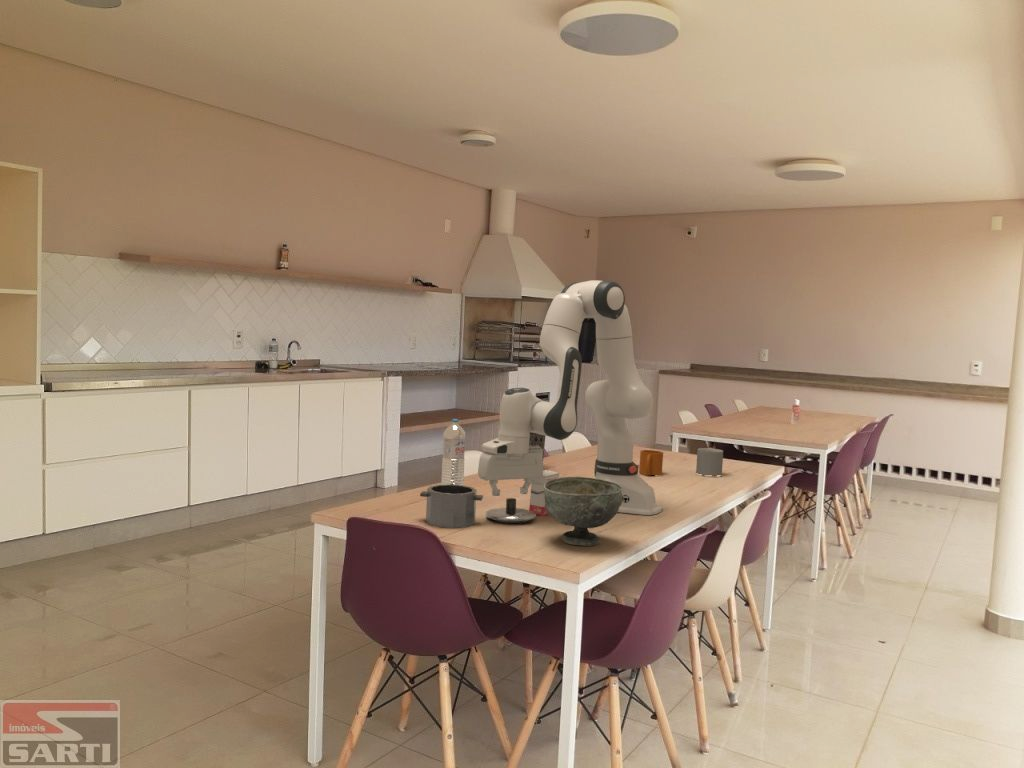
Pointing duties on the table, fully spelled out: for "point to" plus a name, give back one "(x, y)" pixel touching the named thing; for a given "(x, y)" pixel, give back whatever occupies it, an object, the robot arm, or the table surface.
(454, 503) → the pot
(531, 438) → the planter
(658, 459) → the mug
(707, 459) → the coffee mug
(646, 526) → the table surface
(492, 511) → the lid
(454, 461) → the water bottle
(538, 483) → the ink box
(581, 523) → the bowl
